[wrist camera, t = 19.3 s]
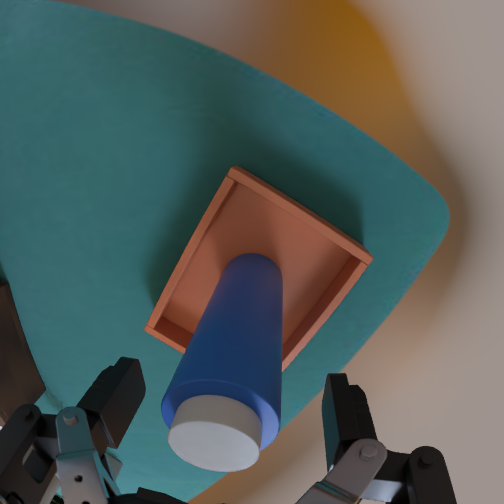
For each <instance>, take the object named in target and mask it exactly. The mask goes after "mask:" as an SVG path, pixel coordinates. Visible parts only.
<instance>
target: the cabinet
mask: <svg viewBox="0 0 504 504" xmlns="http://www.w3.org/2000/svg"><path fill="white" fill-rule="evenodd" d="M45 390H46V388H45V386H44V384H43V382H42V379H41V377H40V375H39V372H38V370H37V368H36V365H35V363H34V360H33V358H32V355H31V353H30V350H29V347H28V345H27V342H26V339H25V336H24V333H23V330H22V327H21V324H20V321H19V318H18V315H17V312H16V308H15V305H14V301H13V298H12V294H11V290H10V287H9V283H7V282H1V281H0V426H1V427H3V426H4V425H5V423H6V422H7V421H8V419H9V418H10V417H11V416H12V414H13V413H14V412H15V410H16V409H17V408H18V407H20V406H21V405H24V404H34V403H35V402H36V401H37V400H38V399H39V398H40V396H41V395H42V394H43V393H44V392H45Z"/></svg>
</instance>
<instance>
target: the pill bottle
mask: <svg viewBox="0 0 504 504" xmlns="http://www.w3.org/2000/svg"><path fill="white" fill-rule="evenodd" d="M282 331H283V278H282V274H281V271H280V269H279V268H278V266H277V265H276V264H275V263H274V262H273V261H272V260H271V259H269V258H268V257H266V256H264V255H261V254H257V253H246V254H242V255H239V256H237V257H235V258H234V259H232V260H231V261H230V262H229V263H228V264H227V266H226V267H225V269H224V271H223V273H222V276H221V278H220V280H219V282H218V284H217V286H216V288H215V290H214V292H213V294H212V296H211V298H210V300H209V302H208V304H207V306H206V309H205V311H204V313H203V315H202V317H201V319H200V321H199V323H198V325H197V327H196V329H195V331H194V334H193V336H192V338H191V340H190V342H189V344H188V346H187V348H186V350H185V352H184V355H183V357H182V359H181V361H180V363H179V365H178V367H177V369H176V372H175V374H174V376H173V378H172V380H171V382H170V384H169V386H168V389H167V391H166V393H165V395H164V397H163V399H162V403H161V412H162V416H163V419H164V421H165V423H166V425H167V426H168V428H169V432H168V442H169V444H170V446H171V448H172V449H173V451H174V452H175V453H176V454H177V455H178V456H179V457H181V458H182V459H184V460H185V461H187V462H189V463H190V464H193V465H195V466H197V467H200V468H203V469H207V470H212V471H219V472H232V471H239V470H243V469H246V468H248V467H250V466H251V465H253V464H254V463H255V462H256V461H257V459H258V458H259V455H260V450H262V449H264V448H266V447H267V446H268V445H270V444H271V443H272V442H273V441H274V439H275V438H276V437H277V435H278V433H279V430H280V419H281V386H282Z"/></svg>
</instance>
